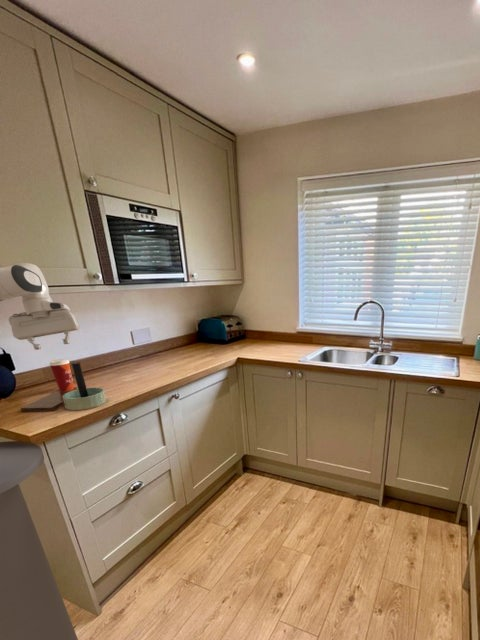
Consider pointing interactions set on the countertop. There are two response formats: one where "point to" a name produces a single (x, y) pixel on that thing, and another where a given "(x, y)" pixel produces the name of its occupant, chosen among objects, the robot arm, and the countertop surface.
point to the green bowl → (84, 399)
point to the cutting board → (46, 403)
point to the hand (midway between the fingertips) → (52, 346)
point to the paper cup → (62, 374)
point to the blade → (80, 379)
